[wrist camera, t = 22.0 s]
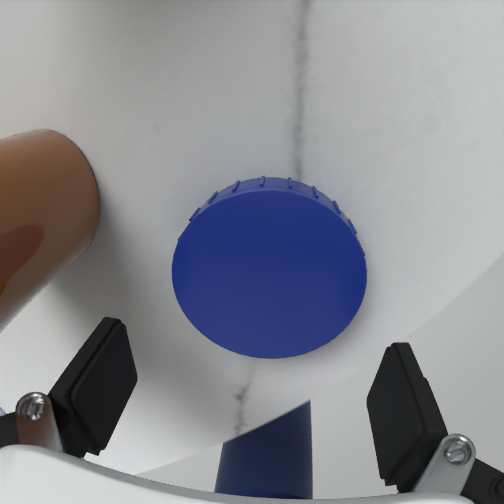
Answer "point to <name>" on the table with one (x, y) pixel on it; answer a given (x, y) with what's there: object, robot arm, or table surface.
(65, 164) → the jar
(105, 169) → the table surface
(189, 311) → the lid
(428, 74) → the table surface
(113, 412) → the robot arm
